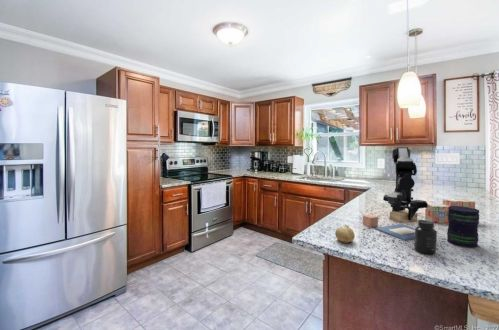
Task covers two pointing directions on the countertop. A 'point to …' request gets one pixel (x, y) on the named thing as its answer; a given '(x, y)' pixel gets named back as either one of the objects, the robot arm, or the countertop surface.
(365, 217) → the terracotta cube
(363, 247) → the countertop surface
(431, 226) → the supplement bottle
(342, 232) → the onion
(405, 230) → the board
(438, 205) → the stack of blocks
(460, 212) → the storage jar
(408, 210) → the robot arm
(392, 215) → the oak brick
